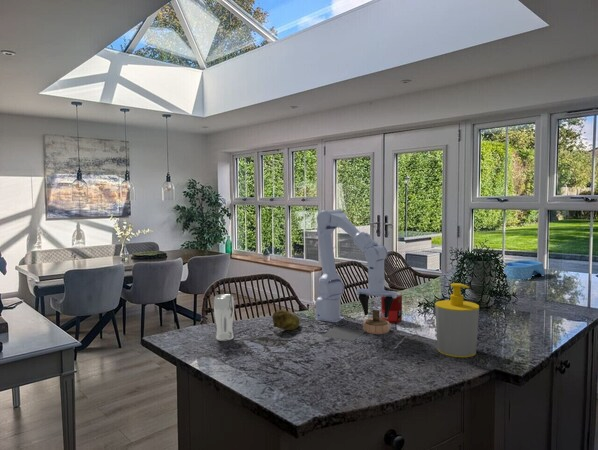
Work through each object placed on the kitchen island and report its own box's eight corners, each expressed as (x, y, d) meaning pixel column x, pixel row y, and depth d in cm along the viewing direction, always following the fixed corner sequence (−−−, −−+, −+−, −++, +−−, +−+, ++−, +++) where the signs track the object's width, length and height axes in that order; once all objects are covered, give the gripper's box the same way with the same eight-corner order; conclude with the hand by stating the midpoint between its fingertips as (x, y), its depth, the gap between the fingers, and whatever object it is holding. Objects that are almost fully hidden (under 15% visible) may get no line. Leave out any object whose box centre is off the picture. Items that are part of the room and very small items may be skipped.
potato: (307, 329, 160) (307, 308, 160) (279, 336, 153) (279, 313, 152) (294, 324, 167) (294, 304, 167) (266, 330, 159) (266, 309, 159)
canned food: (402, 323, 166) (402, 295, 165) (381, 322, 168) (381, 294, 167) (401, 318, 174) (401, 291, 173) (381, 317, 175) (381, 290, 175)
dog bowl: (522, 282, 247) (522, 267, 247) (491, 277, 263) (491, 264, 262) (551, 275, 266) (551, 262, 266) (521, 271, 282) (521, 259, 281)
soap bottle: (474, 361, 126) (475, 289, 125) (429, 353, 133) (430, 285, 132) (482, 348, 137) (482, 282, 136) (440, 341, 144) (440, 278, 143)
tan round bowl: (360, 332, 155) (360, 324, 155) (368, 326, 163) (368, 317, 163) (385, 336, 151) (384, 327, 151) (392, 329, 159) (392, 320, 159)
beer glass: (238, 336, 153) (237, 294, 152) (228, 342, 147) (227, 298, 146) (220, 334, 155) (219, 293, 155) (210, 340, 149) (209, 297, 148)
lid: (362, 323, 155) (362, 311, 155) (370, 318, 162) (370, 307, 162) (382, 326, 151) (382, 314, 151) (389, 321, 158) (389, 309, 157)
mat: (321, 337, 151) (321, 335, 151) (335, 328, 161) (335, 326, 161) (353, 341, 145) (353, 340, 145) (365, 332, 156) (365, 331, 156)
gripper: (353, 279, 156) (353, 316, 157) (392, 282, 149) (392, 320, 150) (360, 276, 162) (360, 311, 163) (398, 278, 155) (398, 316, 156)
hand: (376, 315), depth 157 cm, fingers open, 7 cm apart
